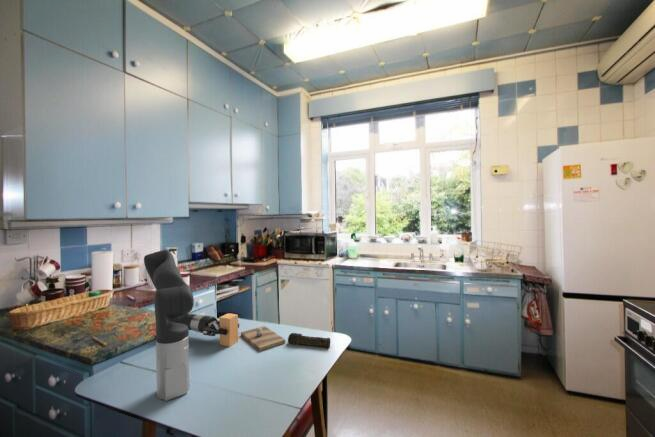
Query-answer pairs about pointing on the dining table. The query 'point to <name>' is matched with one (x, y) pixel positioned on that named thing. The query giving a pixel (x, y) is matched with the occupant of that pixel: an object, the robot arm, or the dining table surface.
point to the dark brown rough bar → (308, 340)
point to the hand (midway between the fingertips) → (232, 329)
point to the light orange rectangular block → (229, 329)
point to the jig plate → (262, 338)
